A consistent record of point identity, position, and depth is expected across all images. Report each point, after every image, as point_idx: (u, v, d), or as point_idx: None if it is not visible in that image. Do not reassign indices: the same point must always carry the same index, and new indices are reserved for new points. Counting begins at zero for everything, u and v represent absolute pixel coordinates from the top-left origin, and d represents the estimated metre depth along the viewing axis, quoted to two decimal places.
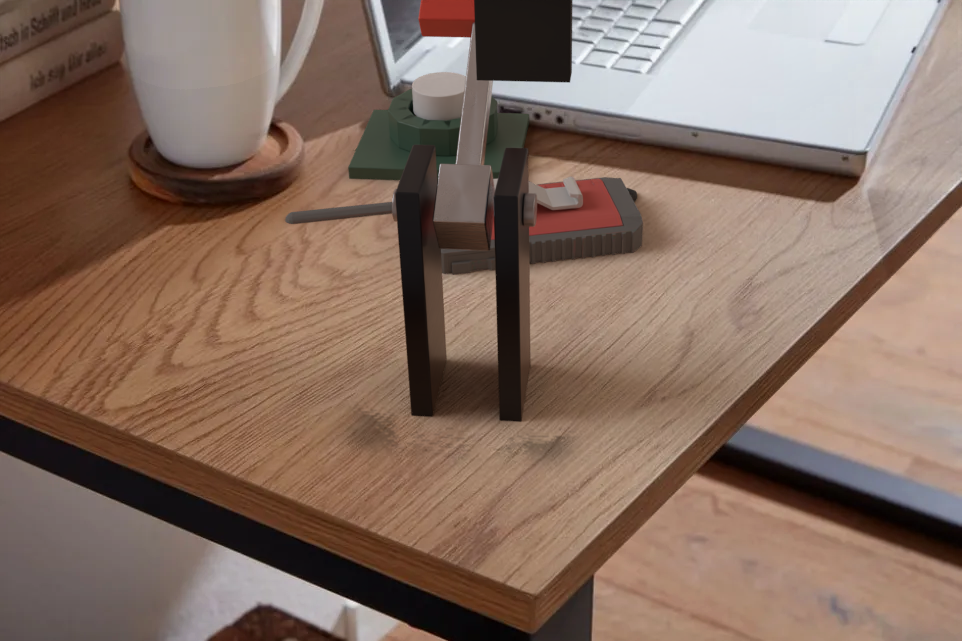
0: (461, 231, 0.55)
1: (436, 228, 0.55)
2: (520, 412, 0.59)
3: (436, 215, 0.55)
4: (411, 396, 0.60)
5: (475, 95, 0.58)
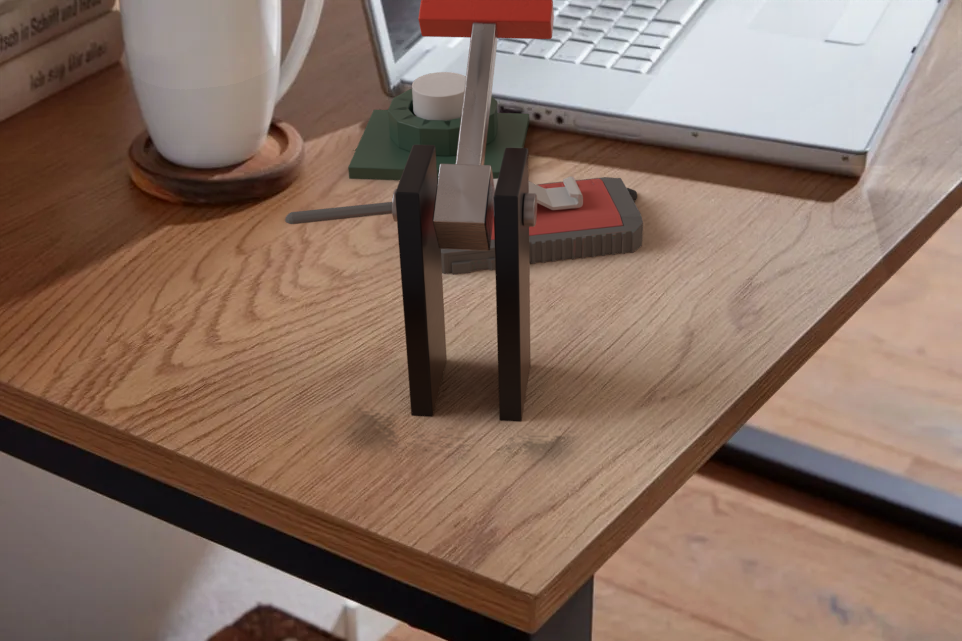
0: (461, 231, 0.55)
1: (436, 228, 0.55)
2: (520, 412, 0.59)
3: (436, 215, 0.55)
4: (411, 396, 0.60)
5: (475, 95, 0.58)
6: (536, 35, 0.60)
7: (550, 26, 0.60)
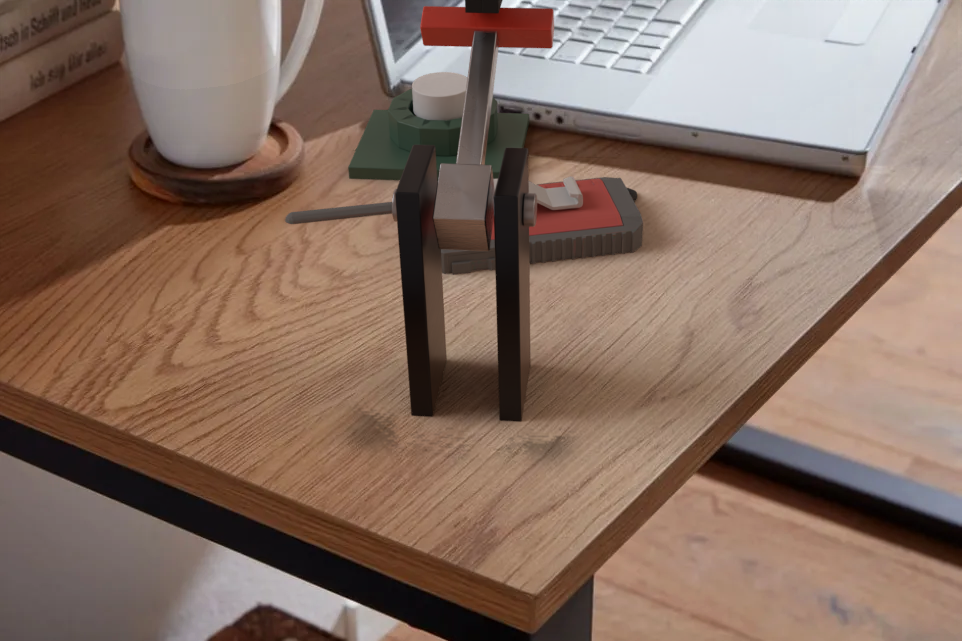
0: (461, 229, 0.55)
1: (436, 226, 0.55)
2: (520, 412, 0.59)
3: (436, 212, 0.55)
4: (411, 396, 0.60)
5: (476, 99, 0.59)
6: (537, 44, 0.61)
7: (551, 35, 0.60)
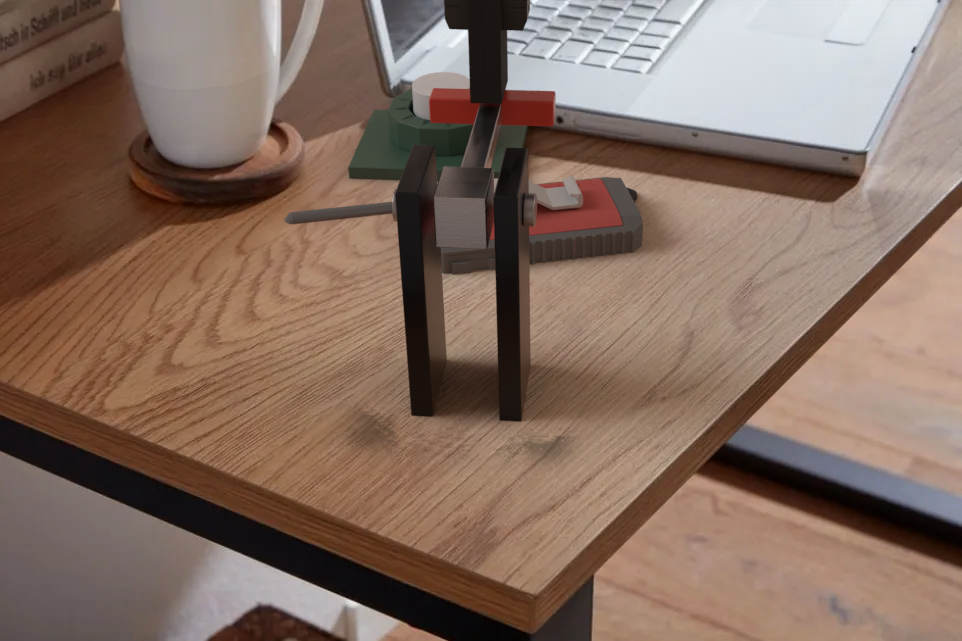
0: (460, 215, 0.55)
1: (436, 210, 0.55)
2: (520, 412, 0.59)
3: (437, 194, 0.55)
4: (411, 396, 0.60)
5: (479, 140, 0.60)
6: (539, 121, 0.64)
7: (552, 109, 0.64)
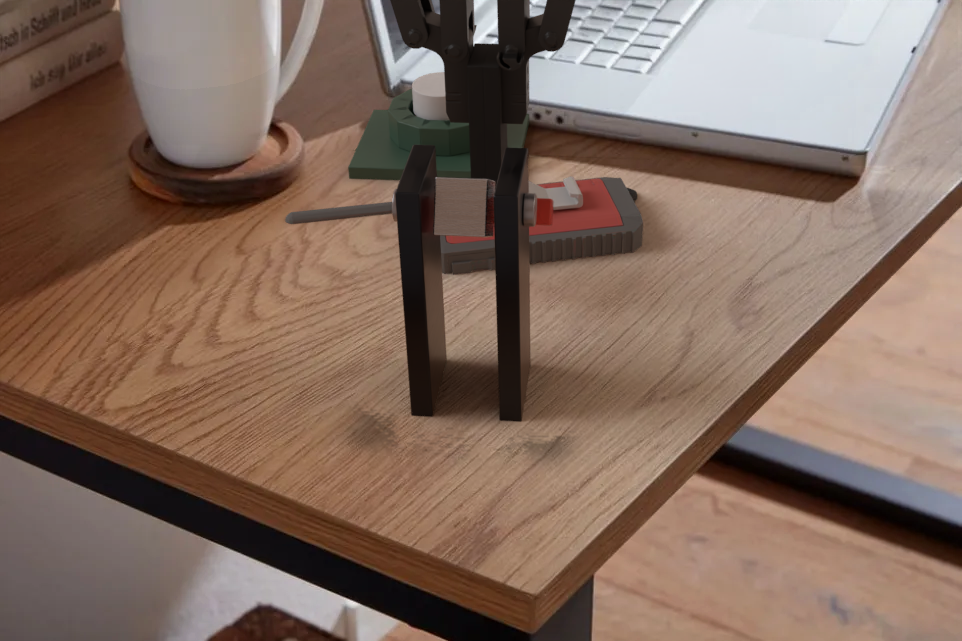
0: (461, 196, 0.55)
1: (436, 192, 0.55)
2: (520, 412, 0.59)
3: (439, 177, 0.55)
4: (411, 396, 0.60)
5: None
6: (536, 218, 0.65)
7: (550, 207, 0.65)
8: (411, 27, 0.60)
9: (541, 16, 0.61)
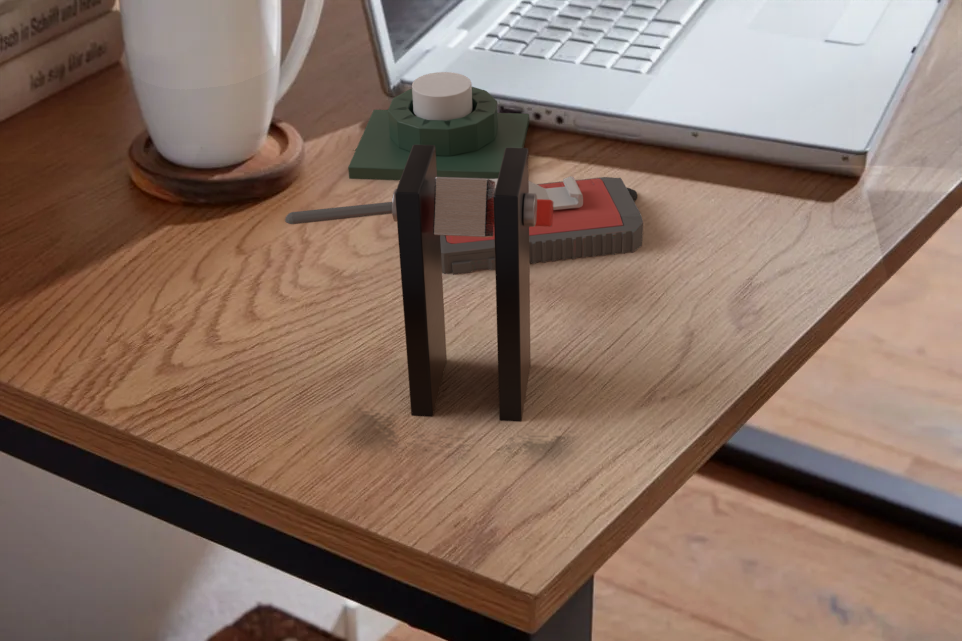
0: (461, 196, 0.55)
1: (436, 191, 0.55)
2: (520, 412, 0.59)
3: (439, 177, 0.55)
4: (411, 396, 0.60)
5: None
6: (536, 220, 0.65)
7: (550, 208, 0.65)
8: None
9: None
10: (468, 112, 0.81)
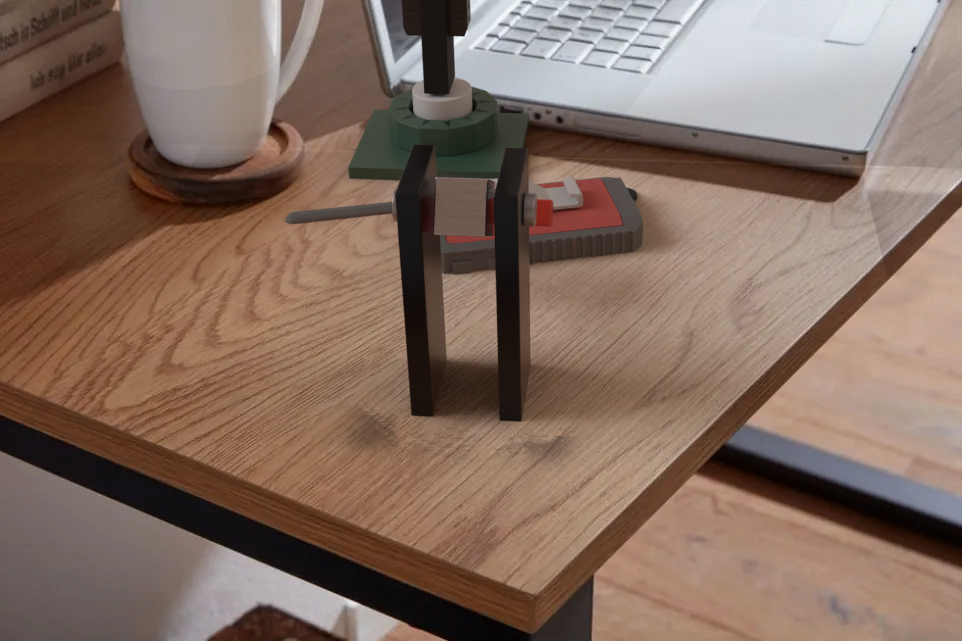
0: (461, 196, 0.55)
1: (436, 191, 0.55)
2: (520, 412, 0.59)
3: (439, 177, 0.55)
4: (411, 396, 0.60)
5: None
6: (536, 220, 0.65)
7: (550, 208, 0.65)
8: None
9: None
10: None
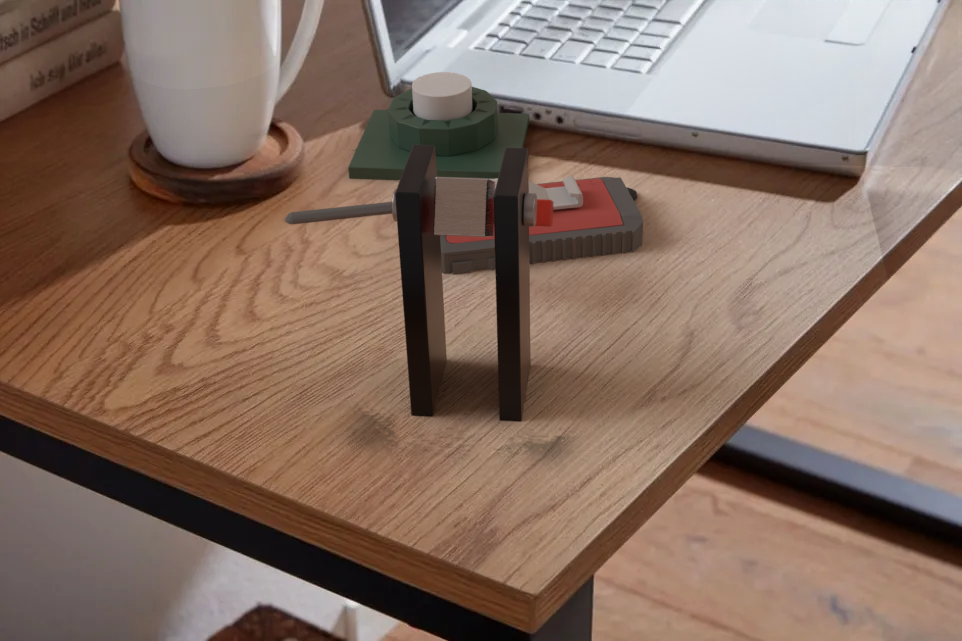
0: (461, 196, 0.55)
1: (436, 191, 0.55)
2: (520, 412, 0.59)
3: (439, 177, 0.55)
4: (411, 396, 0.60)
5: None
6: (536, 220, 0.65)
7: (550, 208, 0.65)
8: None
9: None
10: (468, 112, 0.81)
